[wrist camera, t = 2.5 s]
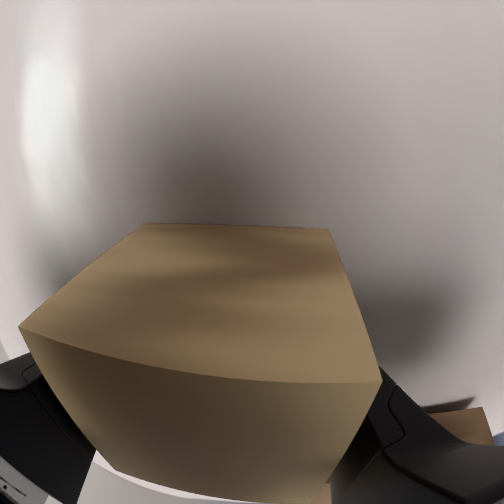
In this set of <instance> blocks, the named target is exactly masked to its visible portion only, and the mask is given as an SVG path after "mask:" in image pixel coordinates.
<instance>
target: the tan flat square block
mask: <svg viewBox="0 0 504 504" xmlns="http://www.w3.org/2000/svg"><path fill="white" fill-rule="evenodd" d="M429 415H430V416H431V417H433V418H434V419H435V420H436V421H438V422H439V423H440V424H441V425H442V426H444V427H445V428H446V429H447V430H448V431H450V432H451V433H452V434H453V435H455V436H456V437H458V438H459V439H461V440H463V441H465V442H468V443H473V444H483V445H495V444H494V440H493V437H492V434H491V431H490V428H489V425H488V422H487V419H486V416H485V413H484V410H483V408H482V407H478V408H472V409H465V410H458V411H451V412H442V413H432V414H429ZM310 504H332V502H331V489H330V477H329V478H328V480H327V481H326V482H325V484H324V485H323V487H322V488H321V490H320V491H319V492H318V494H317V495H316V496H315V498H314V499H313V500H312V502H311V503H310Z"/></svg>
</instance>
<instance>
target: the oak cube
mask: <svg viewBox="0 0 504 504" xmlns="http://www.w3.org/2000/svg"><path fill="white" fill-rule="evenodd" d="M18 328H19V330H20V332H21V334H22V336H23V338H24V340H25V342H26V344H27V346H28V348H29V350H30V352H31V354H32V356H33V358H34V360H35V362H36V363H37V365H38V367H39V369H40V371H41V372H42V374H43V376H44V377H45V379H46V381H47V382H48V384H49V386H50V387H51V389H52V390H53V392H54V393H55V395H56V396H57V398H58V400H59V401H60V402H61V404H62V405H63V407H64V408H65V410H66V411H67V413H68V414H69V415H70V417H71V418H72V419H73V421H74V422H75V423H76V425H77V426H78V427H79V429H80V430H81V431H82V433H83V434H84V435H85V436H86V438H87V439H88V440H89V441H90V442H91V444H92V445H93V446H94V447H95V448H96V449H97V451H98V452H99V453H100V454H101V455H102V456H103V457H104V458H105V460H106V461H107V462H108V463H109V464H110V465H111V466H112V467H113V468H114V469H115V470H116V471H119V472H122V473H124V474H127V475H130V476H133V477H136V478H139V479H142V480H145V481H148V482H151V483H155V484H158V485H162V486H166V487H169V488H173V489H177V490H181V491H186V492H190V493H195V494H200V495H205V496H211V497H217V498H224V499H231V500H239V501H248V502H260V503H279V504H310V503H311V502H312V500H313V499H314V498H315V496H316V495H317V494H318V492H319V491H320V490H321V488H322V487H323V485H324V484H325V482H326V481H327V480H328V478H329V477H330V475H331V474H332V472H333V471H334V469H335V468H336V466H337V465H338V463H339V461H340V460H341V458H342V457H343V455H344V453H345V452H346V450H347V448H348V447H349V445H350V443H351V442H352V440H353V438H354V436H355V435H356V433H357V431H358V429H359V427H360V426H361V424H362V422H363V420H364V418H365V416H366V414H367V412H368V410H369V408H370V406H371V404H372V402H373V400H374V398H375V396H376V394H377V392H378V390H379V388H380V386H381V383H382V377H381V374H380V370H379V367H378V364H377V360H376V357H375V354H374V351H373V348H372V345H371V342H370V339H369V335H368V332H367V330H366V327H365V324H364V321H363V318H362V315H361V312H360V309H359V306H358V304H357V301H356V298H355V295H354V293H353V290H352V287H351V285H350V282H349V279H348V277H347V274H346V272H345V269H344V267H343V264H342V262H341V259H340V257H339V254H338V252H337V249H336V247H335V244H334V242H333V240H332V237H331V235H330V232H329V230H328V229H314V228H294V227H272V226H246V225H215V224H171V223H145V224H143V225H142V226H140V227H139V228H138V229H136V230H135V231H133V232H132V233H131V234H129V235H128V236H126V237H125V238H124V239H122V240H121V241H120V242H118V243H117V244H116V245H114V246H113V247H112V248H110V249H109V250H108V251H106V252H105V253H104V254H102V255H101V256H100V257H99V258H97V259H96V260H95V261H93V262H92V263H91V264H90V265H88V266H87V267H86V268H85V269H83V270H82V271H81V272H80V273H78V274H77V275H76V276H75V277H73V278H72V279H71V280H70V281H69V282H67V283H66V284H65V285H64V286H63V287H61V288H60V289H59V290H58V291H57V292H56V293H54V294H53V295H52V296H51V297H50V298H49V299H48V300H46V301H45V302H44V303H43V304H42V305H41V306H40V307H39V308H37V309H36V310H35V311H34V312H33V313H32V314H31V315H30V316H29V317H28V318H26V319H25V320H24V321H23V322H22V323H21V324H20V325H19V326H18Z"/></svg>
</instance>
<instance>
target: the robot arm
mask: <svg viewBox="0 0 504 504" xmlns="http://www.w3.org/2000/svg"><path fill="white" fill-rule="evenodd" d="M378 367H379V370H380V374H381V377H382V383H381V386H380V388H379V390H378V392H377V394H376V396H375V398H374V400H373V402H372V404H371V406H370V408H369V410H368V412H367V414H366V416H365V418H364V420H363V422H362V424H361V426H360V427H359V429H358V431H357V433H356V435H355V436H354V438H353V440H352V442H351V443H350V445H349V447H348V448H347V450H346V452H345V453H344V455H343V457H342V458H341V460H340V461H339V463H338V465H337V466H336V468H335V469H334V471H333V472H332V474H331V475H330V489H331V502H332V504H504V446H498V445H483V444H473V443H468V442H465V441H463V440H461V439H459V438H458V437H456V436H455V435H453V434H452V433H451V432H450V431H448V430H447V429H446V428H445V427H444V426H442V425H441V424H440V423H439V422H438V421H436V420H435V419H434V418H433V417H431V416H430V415H429V414H428V413H427V412H425V411H424V410H423V409H422V408H421V407H420V406H419V405H417V404H416V403H415V402H414V401H413V400H412V399H411V398H410V397H409V396H408V395H407V394H406V393H405V392H404V391H403V390H402V389H401V388H400V387H399V386H398V385H396V383H395V382H394V381H393V380H392V379H391V378H390V377H389V376H388V374H387V373H386V372H385V371H384V370H383V369H382V368H381V367H380V366H379V365H378ZM95 452H96V448H95V447H94V446H93V445H92V444H91V442H90V441H89V440H88V439H87V438H86V436H85V435H84V434H83V433H82V431H81V430H80V429H79V427H78V426H77V425H76V423H75V422H74V421H73V419H72V418H71V417H70V415H69V414H68V413H67V411H66V410H65V408H64V407H63V405H62V404H61V402H60V401H59V400H58V398H57V396H56V395H55V393H54V392H53V390H52V389H51V387H50V386H49V384H48V382H47V381H46V379H45V377H44V376H43V374H42V372H41V371H40V369H39V367H38V365H37V363H36V362H35V360H34V358H33V356H32V354H31V352H29V353H27V354H24V355H22V356H20V357H17V358H14V359H12V360H9V361H7V362H4V363H2V364H0V504H44V503H45V501H46V499H47V497H48V495H50V496H51V497H53V498H54V499H56V500H57V501H59V502H61V503H62V504H77V501H78V498H79V495H80V492H81V490H82V486H83V484H84V481H85V478H86V476H87V473H88V470H89V468H90V465H91V462H92V460H93V457H94V454H95Z"/></svg>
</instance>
